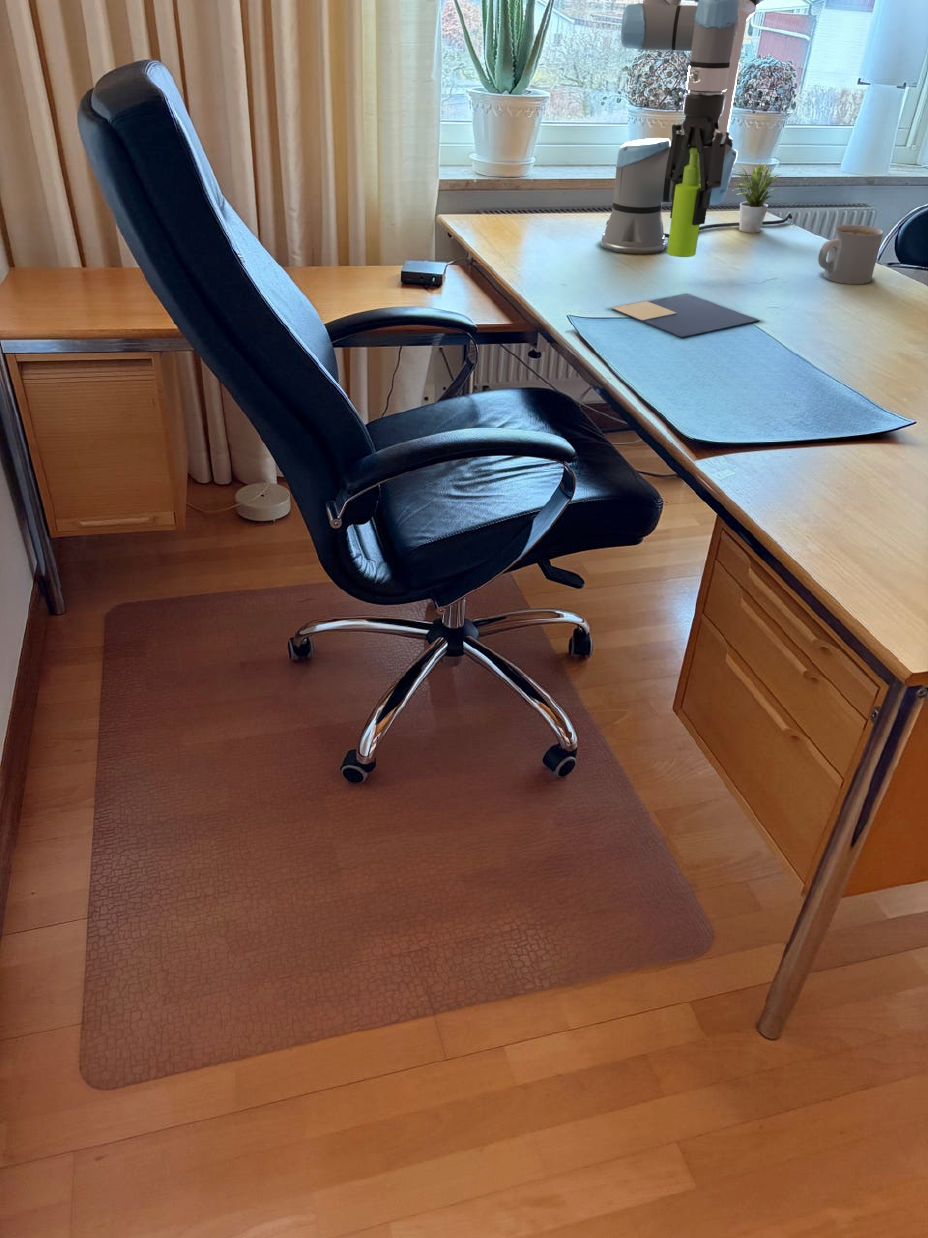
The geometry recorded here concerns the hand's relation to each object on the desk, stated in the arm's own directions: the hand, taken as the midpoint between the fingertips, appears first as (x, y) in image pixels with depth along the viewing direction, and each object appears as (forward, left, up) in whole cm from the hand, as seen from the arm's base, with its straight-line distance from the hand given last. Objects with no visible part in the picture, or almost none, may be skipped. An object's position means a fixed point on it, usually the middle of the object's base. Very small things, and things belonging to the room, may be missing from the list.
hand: (687, 220), depth 189 cm
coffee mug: (-35, +14, -13) cm, 40 cm away
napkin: (+14, +17, -13) cm, 26 cm away
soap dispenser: (0, 0, -7) cm, 7 cm away
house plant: (-52, -30, -13) cm, 61 cm away
